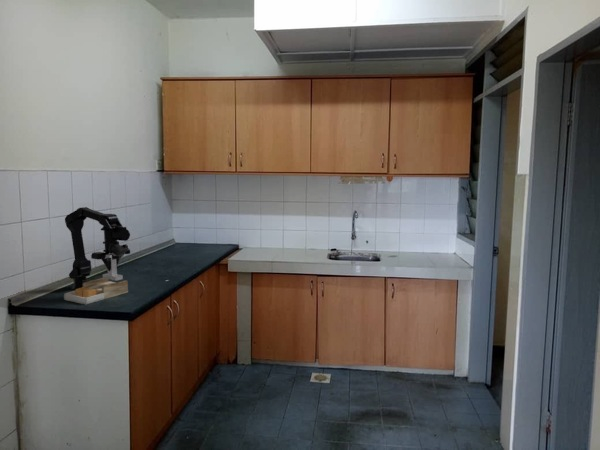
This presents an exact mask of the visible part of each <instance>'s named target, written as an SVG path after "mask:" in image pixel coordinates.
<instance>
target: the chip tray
mask: <svg viewBox="0 0 600 450" xmlns="http://www.w3.org/2000/svg"><path fill="white" fill-rule="evenodd" d="M63 300H64V301H68V302H73V303H76V304H77V303H78V304H81V305H85V306H86V305H89V304H92V303H96V302H100V301H104V300H105V299H104V293H101V294H98V295H94V296H91V297H87V298H85V297H80V296H76V290H73V291H69V292H65V293H63Z"/></svg>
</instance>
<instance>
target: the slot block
mask: <svg viewBox="0 0 600 450" xmlns="http://www.w3.org/2000/svg"><path fill="white" fill-rule="evenodd" d="M128 282H129V281H128V280H125V279H124V280H122V281H118V282H116V281H112V280H109V279H104V278H103V277H101V278H97V279H93V280H87V282H84V283H83V287H84V288H89V289H95V290H96V295H98V294H101V293H104V299H103V300H107V299H110V298H113V297H117V296H120V295H123V294H127V293H129V283H128Z"/></svg>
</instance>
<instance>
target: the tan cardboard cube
mask: <svg viewBox="0 0 600 450" xmlns="http://www.w3.org/2000/svg"><path fill="white" fill-rule="evenodd" d="M94 295H96V290H95V289H87V290H83V297H85V298H87V297H91V296H94Z"/></svg>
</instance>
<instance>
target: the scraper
mask: <svg viewBox="0 0 600 450" xmlns="http://www.w3.org/2000/svg"><path fill="white" fill-rule="evenodd" d="M110 267H111V268H110V271H108V270H107V273H104V274H102V278H104V279H109V281H113V282H116V281H121V280H124V278H123V277H124V276H123V274H118V268H117V267H118V265H117V263H116V259H113V258H112V257H111V260H110Z"/></svg>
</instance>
